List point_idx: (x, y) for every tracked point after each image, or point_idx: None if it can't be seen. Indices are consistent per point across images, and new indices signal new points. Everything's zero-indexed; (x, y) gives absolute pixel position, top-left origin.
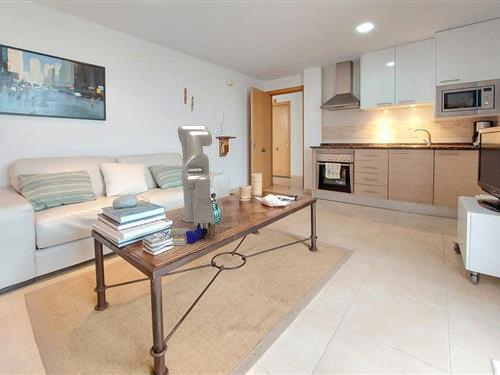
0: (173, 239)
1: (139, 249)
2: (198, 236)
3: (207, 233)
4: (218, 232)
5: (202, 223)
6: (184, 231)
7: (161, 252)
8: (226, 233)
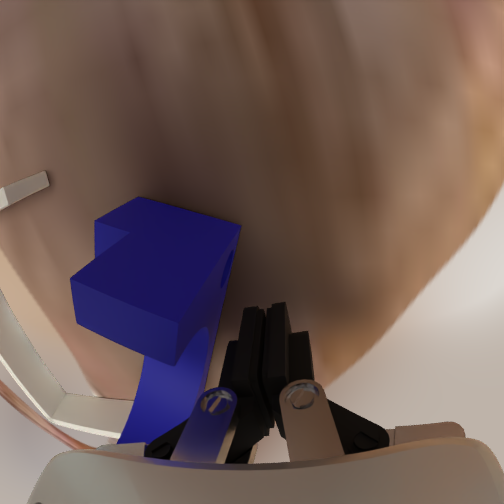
0: (83, 428)
1: (18, 399)
2: (207, 355)
3: (311, 353)
4: (406, 85)
5: (221, 461)
6: (5, 207)
7: (108, 444)
8: (491, 135)
